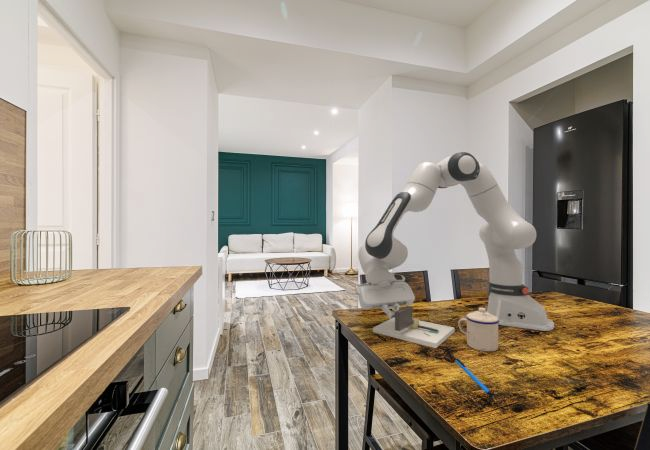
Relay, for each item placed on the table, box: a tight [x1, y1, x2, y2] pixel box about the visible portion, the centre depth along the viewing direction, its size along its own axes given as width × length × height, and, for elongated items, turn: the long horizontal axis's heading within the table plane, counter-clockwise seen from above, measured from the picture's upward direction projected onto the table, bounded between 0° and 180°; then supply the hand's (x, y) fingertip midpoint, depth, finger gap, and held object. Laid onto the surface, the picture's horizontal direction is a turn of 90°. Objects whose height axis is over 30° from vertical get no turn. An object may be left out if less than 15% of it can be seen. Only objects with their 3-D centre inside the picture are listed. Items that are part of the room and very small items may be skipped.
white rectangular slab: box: [372, 318, 456, 349], centre depth 107 cm, size 22×18×2 cm
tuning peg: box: [394, 305, 438, 332], centre depth 101 cm, size 13×10×8 cm
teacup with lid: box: [458, 307, 499, 352], centre depth 96 cm, size 12×9×12 cm
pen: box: [453, 357, 494, 399], centre depth 76 cm, size 1×19×1 cm, turn 1°
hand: (394, 317), depth 102 cm, fingers closed
